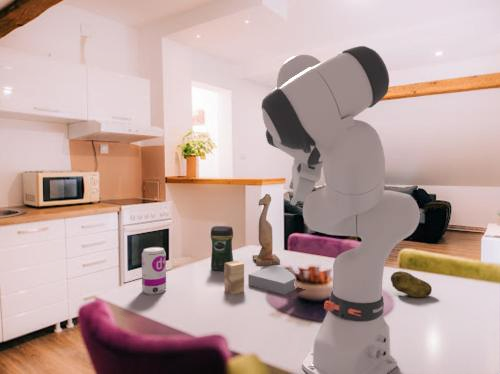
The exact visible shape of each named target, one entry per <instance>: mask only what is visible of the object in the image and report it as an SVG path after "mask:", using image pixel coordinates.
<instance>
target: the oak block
mask: <svg viewBox="0 0 500 374" xmlns="http://www.w3.org/2000/svg"><path fill="white" fill-rule="evenodd" d="M224 292H227V293H228V294H230V295H235V294H240V293H244V292H245V263H243V262H241V261H238V260H233V261H232V262H227V263H225V271H224Z"/></svg>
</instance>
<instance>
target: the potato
mask: <svg viewBox="0 0 500 374" xmlns="http://www.w3.org/2000/svg"><path fill="white" fill-rule="evenodd" d="M390 281H391V284H392V287H393V288H394V289H395V290H396V291H398V292H400V293H403V294H405V295H407V296H408V297H412V298H425V297H428V296H429V295H431V294H432V286H431V284H429V283H428V282H427V281H424V280H423V279H420V278H419V277H415V276H414V275H412V274H411V273H410V272H407V271H401V270H399V271H394V272H393V273H392V274H391V276H390Z"/></svg>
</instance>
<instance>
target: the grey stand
mask: <svg viewBox="0 0 500 374" xmlns="http://www.w3.org/2000/svg"><path fill="white" fill-rule="evenodd" d="M283 267H284V266H283ZM283 267H282V266H280V265H279V266H278V265H274V264H273V265H272V264H271V265H269V266H267V267H264V268H262V269H260V270H259V269H258V270H257V271H255V272H251V273H249V274H248V286H251V287H255V288H259V289H261V290H266V291H268V292H273V293H277V294H280V295H283V296H285V295H287V294H289V293H291V292H292V291H295V290H296V289H295V286H294V281H295V276H294V275H293V274H292V273H291V272H289V271H288V270H286V269H284V268H285V267H284V268H283ZM293 271H294V272H295V273H297V274H298V273H299V271H300V270H298V269H293Z"/></svg>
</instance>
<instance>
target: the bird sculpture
mask: <svg viewBox="0 0 500 374" xmlns="http://www.w3.org/2000/svg"><path fill="white" fill-rule="evenodd" d="M271 201H272V197H271V195H270V194H269V193H266V194H265V195H264V196H263V197H262V198H261V199H259V200H258V206H263V209H262V211H261V213H260V216H259V220H258V243H259V245H260V246H261V248H260V250H259V253H258V254H254V255H252V260H255V262H256V266H272V265H275V266H278V265H281V260H280V258H279V257H278V256H277V255H276V254H275V253H273V227H272V224H271V223H270V221H268V219H267V215H268V210H269V207H270V204H271Z"/></svg>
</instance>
